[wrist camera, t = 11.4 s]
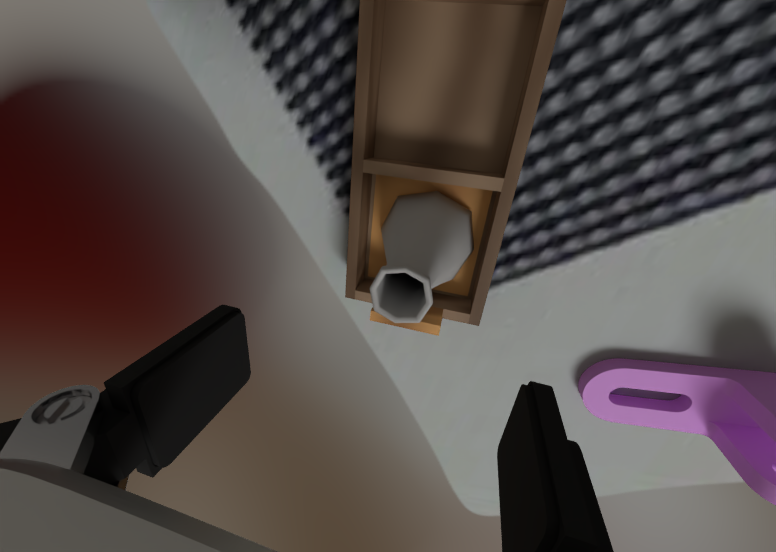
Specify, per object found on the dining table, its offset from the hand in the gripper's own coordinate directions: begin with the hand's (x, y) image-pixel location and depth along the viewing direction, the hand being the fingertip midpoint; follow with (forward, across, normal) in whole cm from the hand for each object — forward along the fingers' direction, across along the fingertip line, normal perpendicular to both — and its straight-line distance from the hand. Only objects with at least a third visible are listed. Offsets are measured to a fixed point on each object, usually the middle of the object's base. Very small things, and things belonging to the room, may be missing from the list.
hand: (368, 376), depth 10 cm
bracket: (+17, -21, +10) cm, 29 cm away
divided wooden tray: (+17, +1, -5) cm, 17 cm away
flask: (+16, 0, 0) cm, 16 cm away
